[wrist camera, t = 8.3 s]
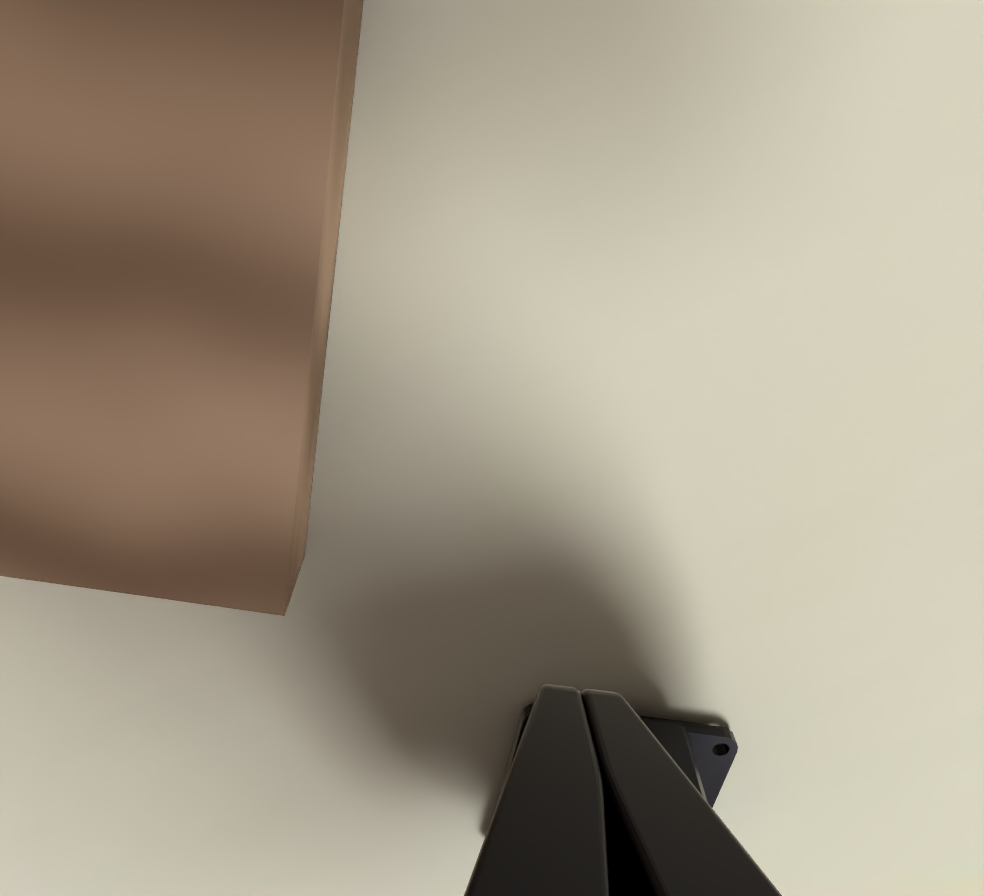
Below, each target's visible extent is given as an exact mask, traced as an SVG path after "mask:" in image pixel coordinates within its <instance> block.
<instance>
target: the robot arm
mask: <svg viewBox="0 0 984 896" xmlns="http://www.w3.org/2000/svg"><path fill="white" fill-rule="evenodd" d="M720 743H723V744H721V745H717V744H720ZM737 749H738V746H737V743H736V740H735V737H734V735H733V732H732V731H730V730H729V729H727V728H724V727H718V726H711V725H703V724H696V723H688V722H681V721H673V720H666V719H659V718H651V717H644V716H638V715H637V714H636V712H635V711H634V710H633V709H632V707H631V706H630V705H629V704H628V702H627V701H626V700H625V699H624V697H623V696H621V695H620V694H619V693H616V692H612V691H603V690H595V689H584V690H582V691H581V692H580V691H579V690H578V689H576V688H575V687H570V686H561V685H553V684H544V685H542V686H541V687H540V689H539V691H538V694H537V696H536V699H535V702H534V704H530V705H528V706H527V707H526V708H524V710H523V712H522V714H521V718H520V721H519V725H518V729H517V732H516V736H515V739H514V743H513V747H512V750H511V754H510V758H509V761H508V765H507V769H506V772H505V776H504V780H503V783H502V787H501V791H500V794H499V798H498V801H497V805H496V809H495V812H494V814H493V817H492V820H491V823H490V825H489V828H488V831H487V834H486V836H485V839H484V842H483V845H482V847H481V850H480V853H479V856H478V858H477V861H476V864H475V867H474V869H473V872H472V875H471V878H470V880H469V883H468V886H467V889H466V891H465V894H464V896H782V895H781V894H780V893H779V891H778V890H777V889H776V888H775V886H774V885H773V884H772V883H771V881H770V880H769V879H768V878H767V876H766V875H765V874H764V873H763V871H762V870H761V869H760V868H759V866H758V865H757V864H756V863H755V861H754V860H753V859H752V858H751V856H750V855H749V854H748V853H747V851H746V850H745V849H744V848H743V846H742V845H741V844H740V843H739V841H738V840H737V839H736V838H735V836H734V835H733V834H732V833H731V831H730V830H729V829H728V828H727V826H726V825H725V824H724V823H723V821H722V820H721V819H720V818H719V816H718V815H717V814H716V813H715V811H714V810H713V809H712V807H713V805H714V803H715V801H716V798H717V796H718V794H719V792H720V789H721V787H722V785H723V783H724V780H725V778H726V776H727V773H728V771H729V769H730V767H731V764H732V762H733V760H734V758H735V755H736V753H737Z"/></svg>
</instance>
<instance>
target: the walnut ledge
mask: <svg viewBox="0 0 984 896" xmlns="http://www.w3.org/2000/svg"><path fill="white" fill-rule="evenodd" d="M362 8H363V0H0V576H6V577H13V578H20V579H27V580H34V581H41V582H48V583H56V584H63V585H70V586H77V587H84V588H91V589H98V590H105V591H113V592H120V593H127V594H134V595H141V596H148V597H155V598H162V599H170V600H177V601H184V602H191V603H198V604H205V605H212V606H219V607H226V608H234V609H241V610H248V611H255V612H262V613H269V614H276V615H283V616H285V613H286V610H287V607H288V604H289V601H290V598H291V595H292V592H293V589H294V586H295V583H296V580H297V577H298V574H299V571H300V568H301V565H302V562H303V559H304V555H305V545H306V536H307V526H308V517H309V507H310V498H311V489H312V479H313V470H314V460H315V451H316V441H317V432H318V423H319V413H320V404H321V394H322V385H323V375H324V366H325V357H326V347H327V338H328V328H329V319H330V309H331V300H332V291H333V281H334V272H335V262H336V253H337V243H338V234H339V225H340V215H341V206H342V196H343V187H344V177H345V168H346V159H347V149H348V140H349V130H350V121H351V111H352V102H353V93H354V83H355V74H356V64H357V55H358V45H359V36H360V27H361V17H362Z"/></svg>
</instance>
